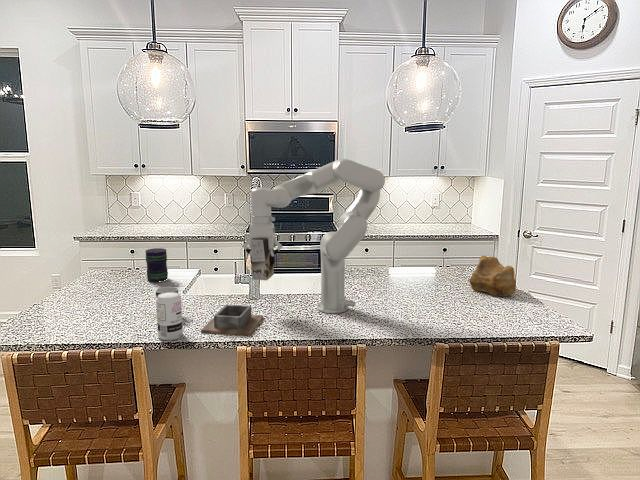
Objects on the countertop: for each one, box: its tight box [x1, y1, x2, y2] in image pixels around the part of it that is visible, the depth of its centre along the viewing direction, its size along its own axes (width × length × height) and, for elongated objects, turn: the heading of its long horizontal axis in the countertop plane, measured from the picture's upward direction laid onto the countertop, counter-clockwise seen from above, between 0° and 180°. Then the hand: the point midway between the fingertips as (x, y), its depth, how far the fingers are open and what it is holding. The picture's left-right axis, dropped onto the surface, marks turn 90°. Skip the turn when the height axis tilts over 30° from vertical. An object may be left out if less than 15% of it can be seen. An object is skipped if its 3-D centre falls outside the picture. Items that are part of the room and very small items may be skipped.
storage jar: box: [145, 247, 169, 283], centre depth 239 cm, size 10×10×15 cm
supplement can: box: [155, 292, 184, 341], centre depth 168 cm, size 8×8×15 cm
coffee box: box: [250, 238, 275, 281], centre depth 191 cm, size 9×6×16 cm
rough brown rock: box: [468, 255, 517, 298], centre depth 223 cm, size 23×17×15 cm
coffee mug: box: [154, 286, 180, 298], centre depth 189 cm, size 12×9×10 cm
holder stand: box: [200, 304, 264, 336], centre depth 180 cm, size 18×18×6 cm
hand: (262, 265), depth 191 cm, fingers closed on coffee box, 6 cm apart
